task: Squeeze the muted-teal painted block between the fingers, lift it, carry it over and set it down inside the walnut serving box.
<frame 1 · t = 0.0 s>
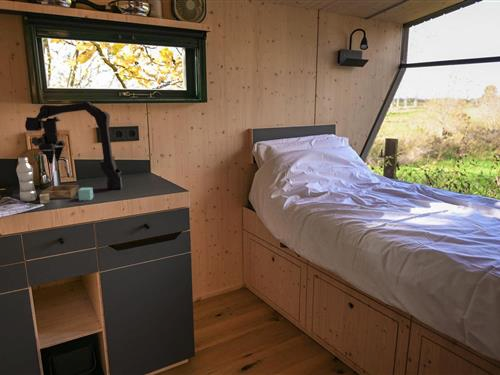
hand: (54, 162, 186), 15 cm above the table, fingers open, 9 cm apart
teal block: (86, 199, 173), on the table
serving box: (61, 195, 180), on the table
plastic bottle: (29, 201, 169), on the table
birch cube: (45, 202, 168), on the table
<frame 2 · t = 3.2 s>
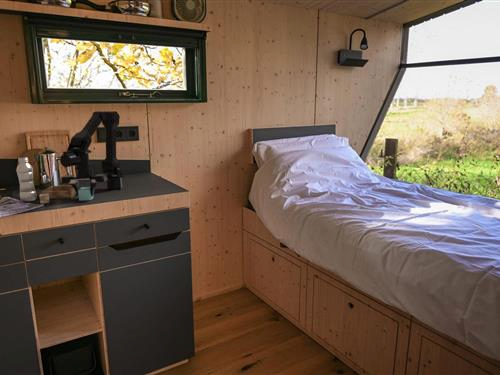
hand: (86, 196, 172), 1 cm above the table, fingers closed on teal block, 5 cm apart
teal block: (86, 198, 173), on the table, touching gripper
everything else where it was.
when the fingers open (4 cm above the table, at t = 6.8 s): teal block drops 2 cm, resting on serving box.
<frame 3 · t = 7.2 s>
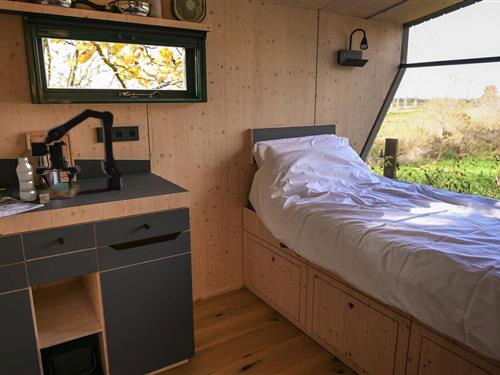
hand: (60, 187, 179), 4 cm above the table, fingers open, 9 cm apart
teal block: (61, 194, 179), point 1 cm above the table, touching serving box
everything else where it was.
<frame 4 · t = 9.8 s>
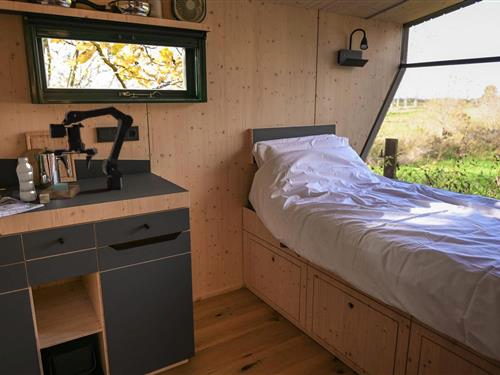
hand: (78, 169, 181), 12 cm above the table, fingers open, 9 cm apart
nothing on the table moved.
at the end: teal block inside the target area on the serving box (0.1 cm from its centre), point 0.6 cm above the serving box's base; the gripper is holding nothing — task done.
